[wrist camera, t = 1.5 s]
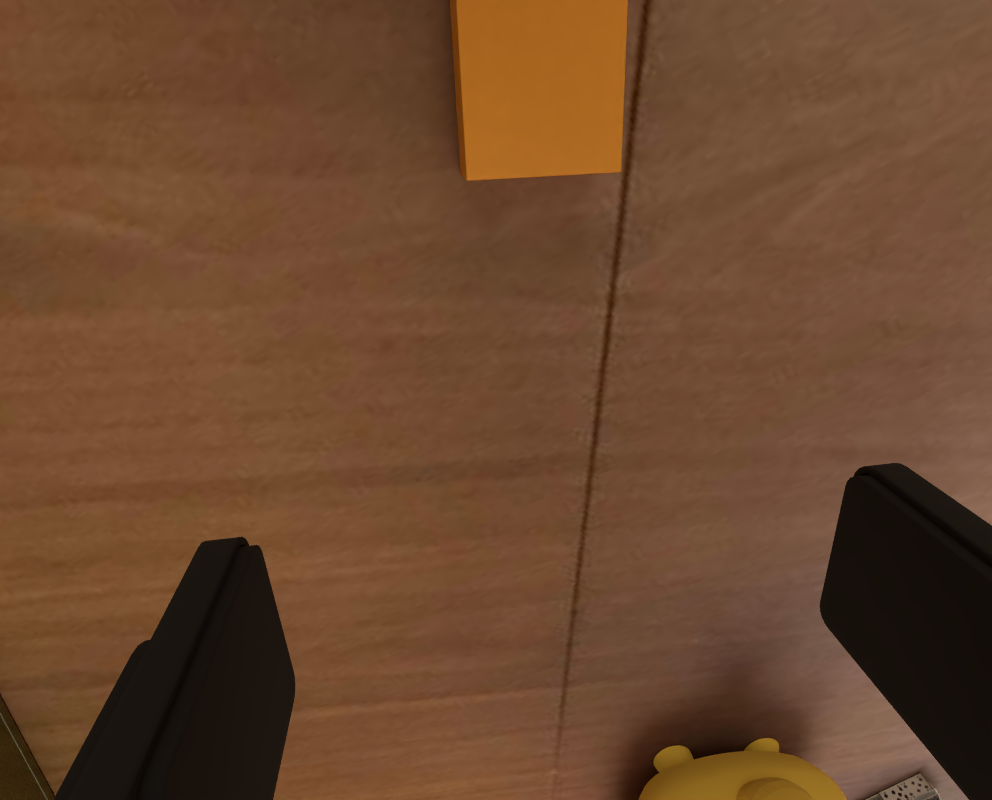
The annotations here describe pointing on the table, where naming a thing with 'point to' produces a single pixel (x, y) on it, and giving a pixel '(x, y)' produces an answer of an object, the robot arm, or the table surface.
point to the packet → (539, 86)
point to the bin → (18, 765)
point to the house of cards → (909, 790)
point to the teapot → (738, 776)
